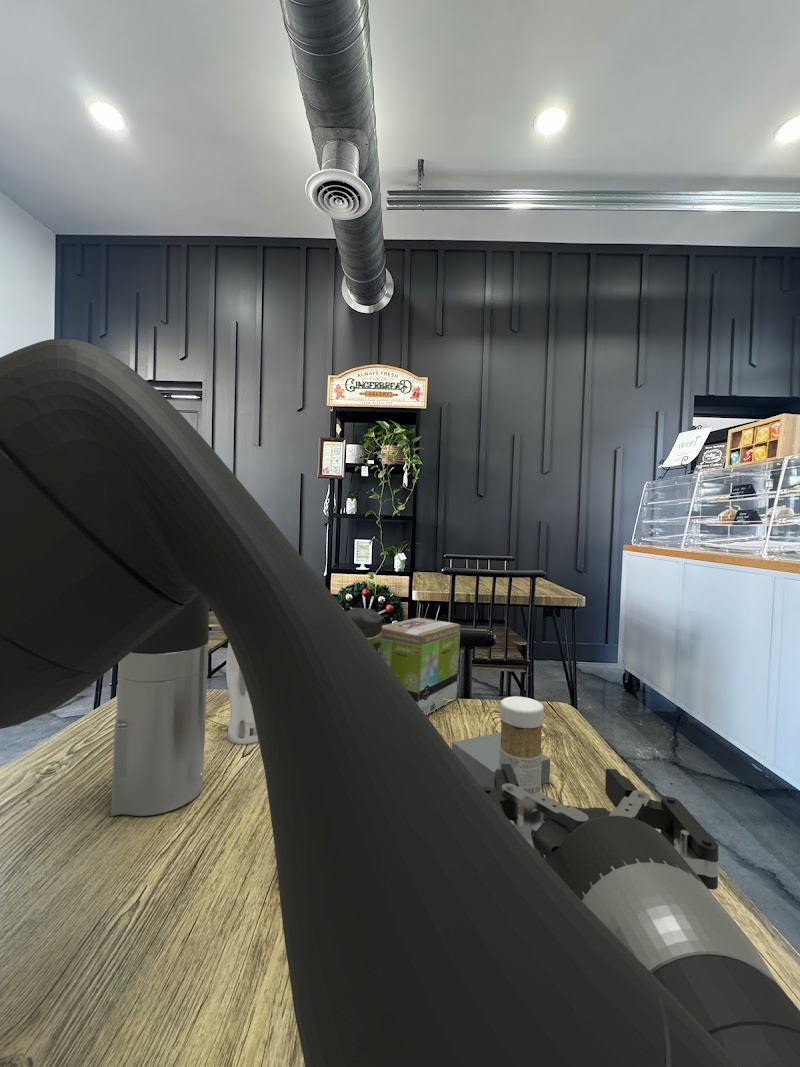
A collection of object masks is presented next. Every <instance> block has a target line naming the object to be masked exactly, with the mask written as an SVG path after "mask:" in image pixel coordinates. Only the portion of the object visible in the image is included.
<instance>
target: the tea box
mask: <svg viewBox="0 0 800 1067" xmlns="http://www.w3.org/2000/svg"><path fill="white" fill-rule="evenodd" d="M460 641H461V624H459V623H455V622H450V621H449V622H448V621H444V620H443V621H442V620H437V619H431V618H424V617H415V618H410V619H406V620H402V621H396V622H392V623H387V624H384V625H383V624H382V638H381V653H380V655H381V656H382V658H383V659H384V660H385V662H386V663H387V664H388V666H389V667H390V668H391V670H392V671H393V672H394V674H395V675H396V676H397V678H398V679H399V680H400V682H401V683H402V684H403V686H404V687H405V688H406V690H407V691H408V692H409V694H410V695H411V696H412V698H413V699H414V700H415V702H416V703H417V704H418V706H419V707H420V708H421V710H422V711H423V712H424V714H425V715H427V716H428V714H429V713H431V712H432V711H434V710H435V709H437V708H439V707H441V706H443V705H444V706H446V705H447V704H446V703H448V702H447V701H448V700H444V699H431V698H445V699H454V698H455V700H456V699H457V693H458V692H457V691H458V674H459V658H460ZM445 704H446V705H445ZM448 704H449V703H448ZM444 706H443V707H444ZM441 708H442V707H441ZM439 709H440V708H439ZM437 710H438V709H437ZM434 712H435V711H434ZM431 714H432V713H431ZM429 715H430V714H429Z"/></svg>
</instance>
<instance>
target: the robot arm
mask: <svg viewBox="0 0 800 1067" xmlns="http://www.w3.org/2000/svg"><path fill="white" fill-rule="evenodd" d="M210 609H211V611H212V613H213V614H214V616H215V618H216V619H217V622H218V624H219V625H220V627H221V629H222V630H223V632H224V635H225V637H226V639H227V641H228V643H230V645H231V647H232V650H233V652H234V655H235V657H236V660H237V662H238V665H239V667H240V670H241V672H242V675H243V678H244V682H245V685H246V688H247V692H248V695H249V699H250V702H251V705H252V710H253V715H254V720H255V725H256V730H257V735H258V740H259V742H258V744H259V749H260V756H261V759H262V760H261V761H262V764H263V768H264V774H265V781H266V782H265V783H266V789H267V790H266V791H267V797H268V803H269V804H268V806H269V813H270V820H271V827H272V828H271V829H272V836H273V843H274V854H275V861H276V871H277V881H278V882H277V883H278V890H279V892H278V893H279V901H280V910H281V912H280V914H281V922H282V930H283V938H284V946H285V951H286V959H287V967H288V974H289V983H290V988H291V998H292V1004H293V1011H294V1012H293V1013H294V1017H295V1022H296V1028H297V1032H298V1036H299V1043H300V1047H301V1052H302V1057H303V1062H304V1067H800V1009H799V1007H798V1006H797V1005H796V1004H795V1003H794V1001H793V1000H792V999H791V997H790V996H788V993H786V991H785V990H784V989H783V987H782V986H781V985H780V984H779V982H778V980H777V979H776V978H775V975H774V974H773V973H772V972H771V970H770V968H769V967H768V965H767V964H766V962H765V960H764V958H762V955H761V954H760V953H759V951H758V950H757V948H756V946H755V945H754V943H753V942H752V941H751V939H750V938H749V936H747V934H746V933H745V932H744V930H743V929H742V928H741V927H740V926H739V924H738V923H737V922H736V921H735V920H734V918H733V917H732V915H731V914H730V913H729V912H728V911H727V910H726V908H725V907H724V906H723V905H722V904H721V902H720V901H719V900H718V898H717V897H715V895H714V894H713V892H711V891H712V890H714V891H715V890H717V889H718V888H719V866H720V865H719V864H720V863H719V861H720V860H719V859H720V858H719V855H720V853H719V850H720V849H719V844H718V843H717V842H716V841H715V839H714V838H713V837H712V836H711V835H710V833H709V832H707V831H706V829H705V828H704V827H703V826H702V825H701V824H700V822H699V820H697V819H696V818H695V817H694V816H693V815H692V813H690V811H689V810H688V809H687V808H686V807H685V805H684V804H682V802H681V801H680V800H678V799H677V798H675V797H673V796H670V795H669V796H668V795H665V796H664V795H663V796H661V798H660V799H661V800H660V801H659V800H656V799H655V800H654V799H651V798H652V797H651V794H649V793H648V792H646V791H643V790H639V789H638V788H637V787H636V785H634V783H633V782H632V781H631V780H630V778H628V777H626V776H625V775H622V774H621V773H620V772H619V771H618V769H616V768H606V769H605V784H604V785H605V787H604V788H605V789H604V790H605V795H606V796H607V798H608V799H609V801H610V802H611V803H612V805H613V807H614V809H612V810H608V809H607V808H606V807H587V808H584V807H579V806H578V807H577V806H572V805H564V804H562V803H561V802H559V801H557V800H555V799H554V798H552V797H549V796H548V795H546V794H545V793H542V792H541V791H540V792H535V793H533V794H530V793H528V792H526V791H525V790H523V789H521V788H519V784H518V781H517V779H516V776H515V774H514V771H513V769H512V766H511V764H503V763H502V764H501V769H496V771H495V783H494V789H493V788H490V787H481V786H480V785H479V783H478V782H477V781H476V780H475V778H474V777H473V776H472V775H471V773H470V772H469V771H468V770H467V768H466V767H465V766H464V764H463V763H462V762H461V761H460V759H459V758H458V757H457V756H456V754H455V753H454V752H453V750H452V747H450V745H449V744H448V743H447V741H446V740H445V739H444V738H443V736H442V734H441V733H439V731H438V729H437V728H436V727H435V725H434V724H433V723H432V722H431V720H430V719H429V718H428V715H427V716H426V715H425V714H424V712H423V711H422V710H421V708H420V707H419V706H418V704H417V703H416V702H415V700H414V699H413V698H412V696H411V695H410V694H409V692H408V691H407V690H406V688H405V687H404V686H403V684H402V683H401V682H400V680H399V679H398V678H397V676H396V675H395V674H394V672H393V671H392V670H391V668H390V667H389V666H388V664H387V663H386V662H385V660H384V659H383V658H382V656H381V655H380V654H379V653H378V651H377V650H376V649H375V648H374V646H373V645H372V644H371V643H370V641H369V640H368V639H367V638H366V636H365V635H364V634H363V633H362V631H361V630H360V629H359V628H358V626H357V625H356V624H355V623H354V621H353V620H352V619H351V617H350V616H349V615H348V614H347V612H346V611H347V610H345V609H344V608H343V606H342V604H340V603H339V601H338V600H337V599H336V597H335V596H334V595H333V593H332V592H331V591H330V590H329V588H328V587H327V586H326V585H325V583H324V582H323V581H322V580H321V578H320V577H319V576H318V575H317V574H316V573H315V572H314V570H313V569H312V568H311V567H310V565H309V564H308V563H307V562H306V561H305V559H304V558H303V557H302V555H301V554H300V553H299V552H298V550H297V549H296V548H295V547H294V546H293V545H292V543H291V542H290V541H289V540H288V538H287V537H286V536H285V535H284V534H283V532H282V531H281V529H279V527H278V526H277V524H275V522H274V521H273V520H272V518H271V517H270V516H269V515H268V514H267V513H266V512H265V510H264V509H263V508H262V506H261V505H260V504H259V503H258V502H257V500H256V499H255V498H254V496H253V495H252V494H251V493H250V492H249V491H248V490H247V488H246V487H245V486H244V485H243V484H242V482H241V481H240V480H239V479H238V477H237V476H236V475H235V474H234V473H233V472H232V470H231V469H230V468H229V467H228V466H227V465H226V463H225V462H224V461H223V460H222V459H221V457H220V456H219V455H218V454H217V453H216V452H215V450H214V449H213V447H212V446H210V444H209V443H207V441H206V440H205V439H204V438H203V436H201V434H200V433H199V432H198V431H197V430H196V429H195V428H194V427H193V425H191V422H189V421H188V420H187V418H185V417H184V416H183V415H182V414H181V412H180V411H178V409H177V408H175V406H174V405H173V404H171V402H170V401H169V400H167V398H166V397H164V395H162V393H161V392H160V391H158V390H157V389H156V388H155V387H154V386H153V385H152V384H151V383H149V382H148V381H147V380H145V378H143V377H142V376H141V375H139V374H138V373H137V372H136V370H134V369H133V368H132V367H130V366H129V365H127V364H126V363H125V362H123V361H122V360H120V359H118V358H117V357H116V356H114V355H113V354H111V352H109V351H106V350H105V349H102V348H101V347H99V346H97V345H95V344H91V343H88V342H86V341H83V340H77V339H71V338H70V339H69V338H54V339H47V340H43V341H38V342H36V343H33V344H30V345H28V346H24V347H22V348H19V349H16V350H14V351H12V352H10V353H7V354H6V355H2V356H1V357H0V730H2V729H6V728H10V727H15V726H19V725H21V724H24V723H26V722H29V721H31V720H33V719H35V718H38V717H41V716H43V715H45V714H48V713H50V712H52V711H54V710H56V709H57V708H60V707H61V706H63V705H64V704H66V703H67V702H69V701H70V700H72V699H73V698H75V697H76V696H78V695H79V694H80V693H81V692H83V691H84V690H86V689H87V688H88V687H90V686H92V685H93V684H94V683H95V682H96V681H97V680H99V679H101V678H102V677H103V676H104V675H106V673H107V672H109V671H110V670H111V669H112V668H113V667H115V666H116V665H117V664H118V666H117V667H118V668H117V670H118V671H117V672H118V673H117V689H116V691H117V693H116V715H115V716H116V717H115V721H114V730H113V731H114V732H113V756H112V758H113V759H112V777H111V778H112V781H111V804H110V807H111V808H110V815H111V816H113V817H114V816H120V815H129V816H138V817H139V816H143V817H145V816H153V815H158V814H159V815H160V814H163V813H168V812H171V811H174V810H176V809H179V808H181V807H183V806H185V805H187V804H188V803H191V802H192V801H193V800H194V799H196V798H197V796H199V794H200V793H201V791H202V790H203V784H204V782H203V781H204V773H205V771H204V769H205V766H204V765H205V764H204V763H205V762H204V761H205V759H204V758H205V741H206V738H205V737H206V736H205V735H206V714H207V688H208V687H207V686H208V666H209V665H208V663H209V662H208V661H209V644H210V643H209V642H210V641H209V638H210V635H209V634H210V632H209V631H210ZM518 805H520V806H521V807H522V808H523V812H524V814H523V817H522V816H521V815H519V814H518ZM543 813H544V814H546V815H547V816H549V817H548V818H547V819H546V820H545V821H544V820H543Z"/></svg>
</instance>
